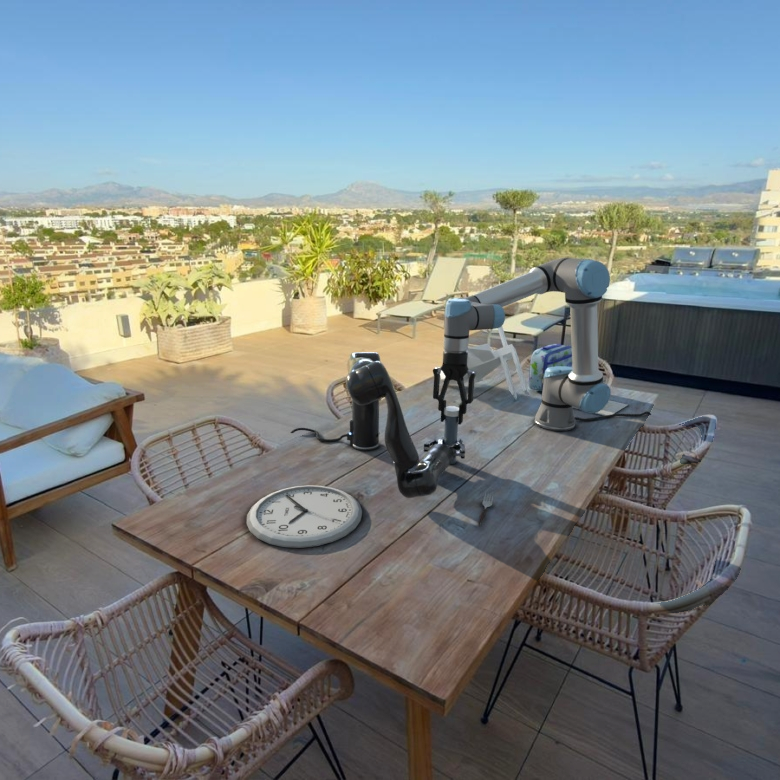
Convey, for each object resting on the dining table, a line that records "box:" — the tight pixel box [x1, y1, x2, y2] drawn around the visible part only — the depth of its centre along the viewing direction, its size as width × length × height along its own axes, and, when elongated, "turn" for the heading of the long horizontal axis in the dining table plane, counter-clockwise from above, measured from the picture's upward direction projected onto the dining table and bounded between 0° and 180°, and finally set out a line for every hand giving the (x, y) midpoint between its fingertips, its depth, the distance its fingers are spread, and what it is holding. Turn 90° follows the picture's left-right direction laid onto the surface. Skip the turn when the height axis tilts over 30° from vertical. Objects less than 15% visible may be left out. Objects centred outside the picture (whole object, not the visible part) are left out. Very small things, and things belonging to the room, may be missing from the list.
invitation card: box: [573, 399, 629, 416], centre depth 226 cm, size 21×1×15 cm
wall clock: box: [246, 484, 363, 549], centre depth 137 cm, size 30×2×30 cm
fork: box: [477, 491, 494, 527], centre depth 140 cm, size 3×16×2 cm, turn 160°
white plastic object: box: [440, 325, 531, 400], centre depth 245 cm, size 37×45×31 cm
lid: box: [444, 405, 459, 417], centre depth 166 cm, size 5×5×2 cm
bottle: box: [443, 415, 459, 465], centre depth 168 cm, size 4×4×18 cm
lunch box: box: [528, 343, 572, 392], centre depth 248 cm, size 26×11×21 cm, turn 134°
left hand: (452, 440), depth 171 cm, fingers closed on bottle, 4 cm apart
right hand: (451, 421), depth 167 cm, fingers closed on lid, 5 cm apart
